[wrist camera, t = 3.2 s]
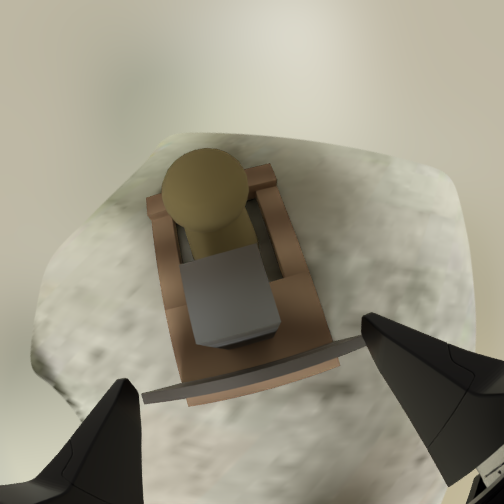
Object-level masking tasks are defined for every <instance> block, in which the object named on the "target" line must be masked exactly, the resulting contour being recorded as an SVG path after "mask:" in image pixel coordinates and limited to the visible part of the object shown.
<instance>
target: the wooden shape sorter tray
mask: <svg viewBox="0 0 504 504" xmlns="http://www.w3.org/2000/svg"><path fill="white" fill-rule="evenodd" d="M244 171H245V173H246V174H247V180H248V187H249V193H248V197H247V200H251V199H254V198H256V199H257V202H258V205H259V208H260V211H261V214H262V217H263V219H264V222H265V225H266V228H267V231H268V234H269V237H270V240H271V243H272V246H273V249H274V252H275V255H276V258H277V261H278V264H279V267H280V270H281V273H282V276H283V278H282V279H279V280H276V281H272V282H269V281H268V278H267V274H266V271H265V268H264V265H263V262H262V258H261V255H260V252H259V249H258V246H257V243H255V244H252V245H248V246H244V247H241V248H237V249H233V250H230V251H226V252H223V253H219V254H215V255H212V256H208V257H205V258H201V259H198V260H194V261H190V262H187V263H182V257H181V252H180V246H179V241H178V235H177V229H176V223H175V221H174V220H173V219H172V217H171V216H170V215H169V214H168V212H167V211H166V208H165V206H164V203H163V200H162V193H160V194H157V195H153V196H150V197H147V198H146V203H147V214H148V217H149V218H150V219H151V221H152V229H153V238H154V246H155V253H156V260H157V267H158V273H159V280H160V286H161V291H162V297H163V302H164V308H165V313H166V318H167V323H168V328H169V332H170V337H171V341H172V346H173V350H174V354H175V358H176V363H177V367H178V370H179V374H180V378H181V382H182V383H180V384H176V385H173V386H169V387H165V388H161V389H158V390H154V391H150V392H146V393H142V398H143V402H144V404H151V403H159V402H166V401H173V400H179V399H185V398H186V400H187V403H188V407H190V406H196V405H202V404H207V403H212V402H217V401H222V400H227V399H231V398H236V397H240V396H244V395H248V394H252V393H256V392H260V391H264V390H267V389H271V388H275V387H278V386H281V385H285V384H288V383H291V382H295V381H298V380H301V379H304V378H307V377H310V376H313V375H316V374H319V373H321V372H324V371H327V370H330V369H332V368H335V367H338V366H340V363H339V360H338V357H340V356H342V355H345V354H347V353H350V352H352V351H355V350H357V349H360V348H362V347H364V346H367V345H366V343H365V341H364V339H363V337H362V335H358V336H355V337H351V338H347V339H342V340H338V341H334V342H333V340H332V337H331V334H330V331H329V328H328V325H327V322H326V319H325V316H324V313H323V310H322V307H321V304H320V301H319V298H318V295H317V292H316V289H315V286H314V284H313V281H312V278H311V275H310V272H309V270H308V267H307V264H306V261H305V258H304V256H303V253H302V250H301V248H300V245H299V242H298V240H297V237H296V234H295V232H294V229H293V226H292V224H291V221H290V219H289V216H288V213H287V211H286V208H285V206H284V203H283V201H282V198H281V196H280V193H279V191H278V188H277V179H276V176H275V174H274V171H273V169H272V167H271V164H270V163H269V164H265V165H260V166H256V167H252V168H248V169H244Z"/></svg>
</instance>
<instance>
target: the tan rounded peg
mask: <svg viewBox="0 0 504 504" xmlns="http://www.w3.org/2000/svg"><path fill="white" fill-rule="evenodd" d="M248 193H249V187H248V180H247V174H246V173H245V171H244V169H243V167H242V166H241V164H240V163H239V161H238V160H237V159H235V158H234V157H233V156H231V155H230V154H228V153H227V152H224V151H221V150H218V149H211V148H204V149H198V150H194V151H191V152H189V153H186V154H184V155H183V156H181V157H180V158H179V159H177V160H176V161H175V162H174V163H173V164H172V165H171V166H170V168H169V169H168V171H167V173H166V175H165V178H164V180H163V183H162V200H163V203H164V206H165V208H166V211H167V212H168V214H169V215H170V216H171V217H172V219H173V220H174V221H175V222H176V223H177V224H179V225H180V226H182V227H184V229H185V232H186V235H187V239H188V242H189V245H190V249H191V252H192V255H193V258H194V260H198V259H201V258H205V257H208V256H212V255H215V254H219V253H223V252H226V251H230V250H233V249H237V248H241V247H244V246H248V245H252V244H255V243H257V246H258V249H259V242H258V238H257V235H256V233H255V230H254V228H253V225H252V223H251V220H250V218H249V215H248V213H247V210H246V208H245V205H246V202H247V197H248Z"/></svg>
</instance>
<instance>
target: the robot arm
mask: <svg viewBox="0 0 504 504" xmlns="http://www.w3.org/2000/svg"><path fill="white" fill-rule="evenodd" d="M361 334H362V337H363V339H364V341H365V343H366V345H367V347H368V349H369V351H370V353H371V356H372V358H373V360H374V362H375V364H376V366H377V368H378V369H379V371H380V373H381V374H382V376H383V377H384V379H385V381H386V382H387V384H388V385H389V387H390V388H391V390H392V392H393V393H394V395H395V396H396V398H397V400H398V401H399V403H400V404H401V406H402V408H403V409H404V411H405V413H406V414H407V416H408V418H409V419H410V421H411V423H412V424H413V426H414V428H415V429H416V431H417V433H418V434H419V436H420V438H421V439H422V441H423V443H424V445H425V446H426V448H428V449H427V450H428V452H429V453H430V455H431V457H432V459H433V461H434V462H435V464H436V466H437V468H438V469H439V471H440V473H441V475H442V477H443V479H444V480H445V482H446V484H447V486H448V487H450V486H451V485H453V484H454V483H456V482H457V481H459V480H460V479H462V478H463V477H464V476H466V475H467V474H469V473H470V472H471V471H472V470H474V469H475V468H476V469H477V471H478V472H479V474H478V475H477V476H476V477H475V478H474V480H473V484H472V487H471V490H470V493H469V496H468V499H467V502H466V504H504V361H502V360H498V359H495V358H491V357H487V356H484V355H480V354H477V353H474V352H470V351H467V350H465V349H462V348H459V347H456V346H454V345H451V344H447V343H446V342H444V341H441V340H439V339H436V338H434V337H432V336H429V335H427V334H424V333H422V332H419V331H417V330H414V329H412V328H410V327H407V326H405V325H402V324H400V323H397V322H395V321H393V320H390V319H388V318H385V317H383V316H380V315H378V314H376V313H373V312H371V313H368V314H366V315H363V316H362V324H361ZM141 437H142V432H141V417H140V404H139V394H138V391H137V390H136V389H135V387H134V386H133V385H132V383H131V382H130V381H129V380H128V379H127V378H122V379H117V380H116V381H115V383H114V384H113V385H112V386H111V387H110V389H109V390H108V391H107V392H106V394H105V395H104V396H103V397H102V399H101V400H100V401H99V402H98V404H97V405H96V406H95V407H94V409H93V410H92V411H91V412H90V414H89V415H88V416H87V417H86V419H85V420H84V421H83V422H82V424H81V425H80V426H79V428H78V429H77V430H76V431H75V433H74V434H73V435H72V437H71V438H70V439H69V441H68V442H67V443H66V444H65V445H64V447H63V448H62V449H61V450H60V452H59V453H58V454H57V455H56V456H55V457H54V459H53V460H52V461H51V462H50V463H49V464H48V465H47V466H46V467H45V468H44V469H43V470H42V472H41V473H40V474H39V475H38V476H37V477H36V478H34V479H32V480H30V481H28V482H23V483H16V484H9V485H0V504H144V500H143V485H142V452H141Z"/></svg>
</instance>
